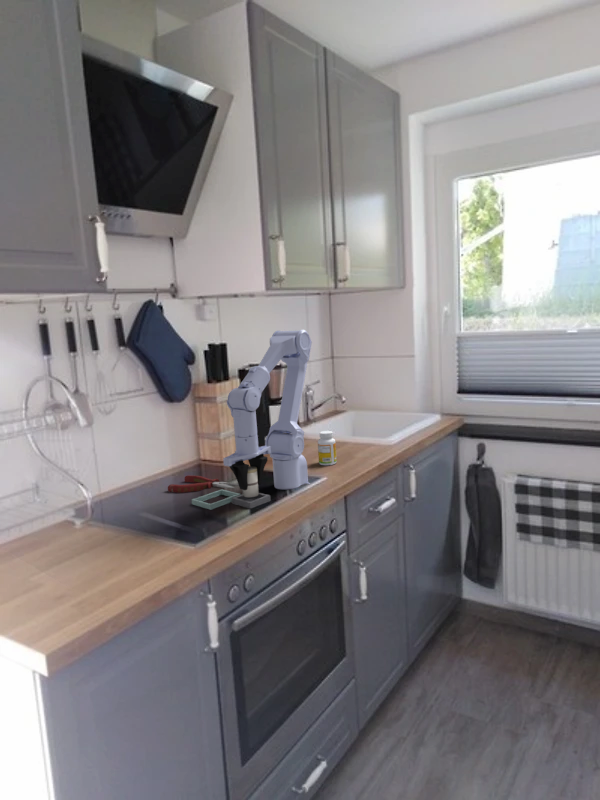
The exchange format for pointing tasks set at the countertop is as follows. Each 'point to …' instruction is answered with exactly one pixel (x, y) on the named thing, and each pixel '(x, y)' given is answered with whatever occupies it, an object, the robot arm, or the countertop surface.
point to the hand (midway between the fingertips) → (250, 486)
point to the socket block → (251, 500)
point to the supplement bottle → (326, 448)
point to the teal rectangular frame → (200, 500)
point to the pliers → (198, 484)
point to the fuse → (251, 483)
